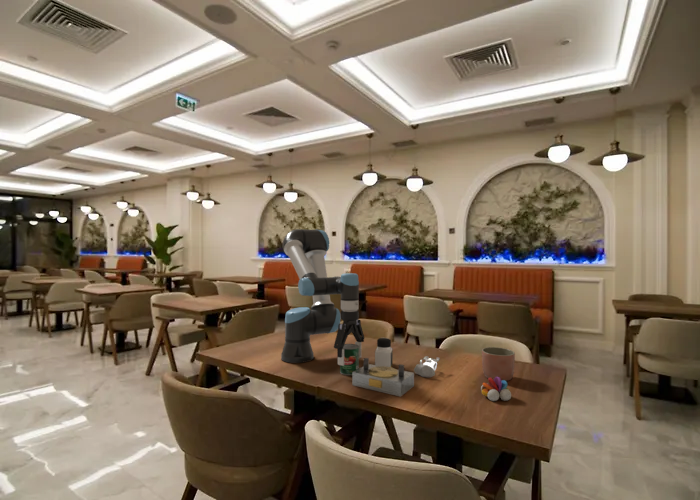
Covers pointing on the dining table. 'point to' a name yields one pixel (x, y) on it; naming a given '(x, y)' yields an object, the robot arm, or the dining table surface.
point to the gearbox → (383, 378)
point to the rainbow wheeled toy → (496, 389)
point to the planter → (498, 363)
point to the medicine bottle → (384, 353)
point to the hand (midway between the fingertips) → (349, 361)
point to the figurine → (426, 367)
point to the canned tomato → (350, 359)
